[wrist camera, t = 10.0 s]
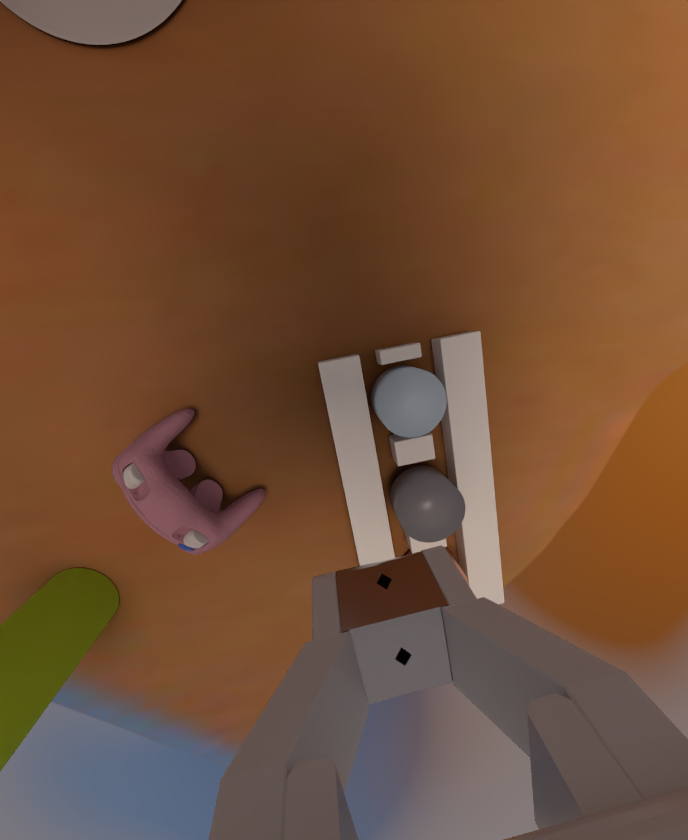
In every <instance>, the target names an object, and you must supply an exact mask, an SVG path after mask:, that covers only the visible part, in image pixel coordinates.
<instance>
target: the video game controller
mask: <svg viewBox="0 0 688 840" xmlns="http://www.w3.org/2000/svg"><path fill="white" fill-rule="evenodd" d="M194 413H195V412H194V410H193V409H183V410H180V411H178V412H176V413H174V414H172V415H170V416H168V417H166V418H165V419H163V420H162V421H160V422H159V423H157V424H155V425H154V426H152V427H150V428H149V429H148V430H147V431H145V432H144V433H143V434H141V435H140V436H139V437H138V438H137V439H136V440H135V441H133V442H132V443H131V444H130V445H129V446H128V447H127V448H125V449H124V450H123V451H122V452H121V453H120V454H119V455H118V456H117V457H116V459H115V460H114V462H113V466H112V472H113V477H114V479H115V481H116V483H117V484H118V485H119V486H120V487H121V488H122V490H123V493H124V495H125V497H126V498H127V500H128V502H129V503H130V505H131V507H132V508H133V509H134V511H135V512H136V513H137V514H138V516H139V517H140V518H141V519H142V520H143V521H144V522H145V523H146V524H147V525H148V526H149V527H150V528H152V529H153V530H154V531H155V532H156V533H158V534H159V535H161V536H162V537H163V538H165V539H167V540H168V541H170V542H171V543H174V544H176V545H178V546H179V547H180V548H181V549H182V550H184V551H185V552H187V553H190V554H201V553H204V552H206V551H208V550H211V549H213V548H216V547H217V546H218V545H220V544H221V543H222V542H224V541H225V540H226V539H227V538H229V537H230V536H231V535H232V534H233V533H234V532H235V531H236V530H237V529H238V528H239V527H240V526H241V525H242V524H243V523H244V522H245V521H246V520H247V519H248V518H249V517H250V516H251V515H252V514H253V513H254V512H255V511H256V509H257V508H258V507H259V506H260V505H261V503H262V501H263V499H264V496H265V491H264V490H263V489H256V490H254V491H251V492H249V493H247V494H245V495H244V496H242V497H241V498H239V499H238V500H236V501H234V502H233V503H232V504H230V505H229V506H228V507H227V508H225V509H224V510H220V505H221V501H222V497H223V492H222V489H221V487H220V486H219V485H218V484H217V483H216V482H214V481H212V480H204V481H202V482H200V483H198V484H197V485H195V486H194V487H192V489H191V490H190V491H189V490H188V489H187V488H186V487H185V486H184V485H183V484H182V483H181V482H180V481H181V480H183V479H184V478H187V477H188V476H190V475H191V474H192V473H193V472H194V471H195V467H196V464H195V460H194V458H193V457H192V455H191V454H190V453H189V452H187V451H185V450H173V451H165V449H166V447H167V446H168V445H169V443H170V442H171V441H172V440H173V439H174V438H175V437H176V436H177V435H178V434H179V433H180V432H181V431H182V430H183V429H184V428H185V427H186V426H187V425H188V424H189V423H190V421H191V420H192V419H193V417H194Z"/></svg>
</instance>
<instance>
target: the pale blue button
mask: <svg viewBox="0 0 688 840" xmlns="http://www.w3.org/2000/svg"><path fill="white" fill-rule="evenodd" d="M446 403H447V398H446V392H445V389H444V387H443V385H442V383H441V382H440V380H439V379H438V378H437V377H436V376H435V375H433V374H432V373H430V372H428V371H426V370H422V369H419V368H415V367H411V366H406V365H400V366H395V367H392V368H390V369H388V370H386V371H385V372H383V373H382V374H381V375H380V376H379V377H378V379H377V380H376V382H375V383H374V385H373V388H372V392H371V404H372V408H373V410H374V412H375V414H376V416H377V417H378V418H379V419H380V421H381V422H382V423H383V424H384V425H385V427H386V428H387V429H388V430H390V431H391V432H392V433H394V434H396V435H398V436H401V437H407V438H413V437H419V436H422V435H425V434H427V433H428V432H430V431H431V430H433V429H434V428H435V427H436V426H437V425H438V424H439V422H440V421H441V419H442V418H443V415H444V413H445V410H446Z"/></svg>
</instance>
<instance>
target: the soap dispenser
mask: <svg viewBox="0 0 688 840" xmlns="http://www.w3.org/2000/svg"><path fill="white" fill-rule="evenodd" d="M118 606H119V594H118V591H117V589H116V587H115V585H114V584H113V583H112V581H111V580H110V579H109V578H107V577H106V576H105V575H103V574H101V573H99V572H97V571H95V570H91V569H87V568H71V569H67V570H64V571H62V572H60V573H58V574H56V575H55V576H54V577H53V578H51V579H50V580H49V581H48V582H47V583H46V584H45V585H44V586H43V587H42V588H41V589H39V590H38V591H37V592H36V593H35V594H34V595H33V596H32V597H31V598H30V599H28V600H27V601H26V602H25V603H24V604H23V605H22V606H21V607H20V608H19V609H17V610H16V611H15V612H14V613H13V614H12V615H11V616H10V617H9V618H8V619H6V620H5V621H4V622H3V623H2V624H1V625H0V771H1V770H2V768H3V767H4V766H5V764H6V763H7V761H8V760H9V759H10V757H11V756H12V755H13V753H14V752H15V750H16V749H17V748H18V746H19V745H20V744H21V742H22V741H23V739H24V738H25V737H26V735H27V734H28V733H29V731H30V730H31V728H32V727H33V726H34V724H35V723H36V721H37V720H38V719H39V717H40V716H41V714H42V713H43V712H44V711H45V709H46V708H47V706H48V705H49V704H50V702H51V701H52V700H53V698H54V697H55V695H56V694H57V693H58V691H59V690H60V688H61V687H62V686H63V684H64V683H65V682H66V680H67V679H68V677H69V676H70V675H71V673H72V672H73V671H74V669H75V668H76V666H77V665H78V664H79V662H80V661H81V660H82V658H83V657H84V655H85V654H86V653H87V651H88V650H89V649H90V647H91V646H92V644H93V643H94V642H95V640H96V639H97V637H98V636H99V635H100V633H101V632H102V631H103V629H104V628H105V626H106V625H107V624H108V622H109V621H110V620H111V618H112V617H113V615H114V614H115V613H116V611H117V609H118Z"/></svg>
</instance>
